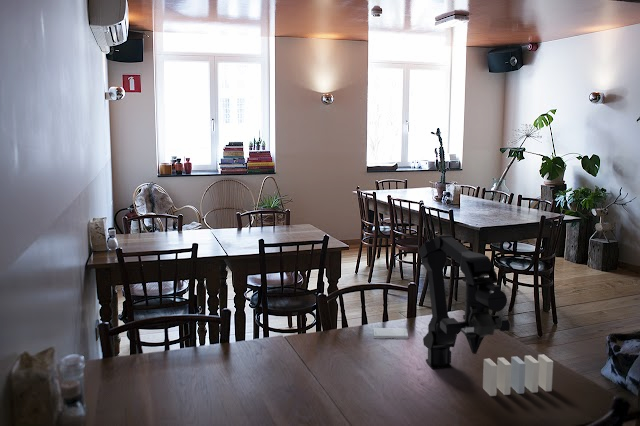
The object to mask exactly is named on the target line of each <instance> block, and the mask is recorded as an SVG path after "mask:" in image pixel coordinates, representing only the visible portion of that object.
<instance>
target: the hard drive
mask: <svg viewBox="0 0 640 426" xmlns="http://www.w3.org/2000/svg"><path fill="white" fill-rule="evenodd" d="M372 331H373V332H372V334H373V333H374V334H373V338H374V337H376V338H375V339H385V338H391V340H393V339H392V338H394V340H396V339H397V340H398V339H399V340H401V339H402V340H408V339H409V334H408V333H409V332H408V329H407V328H403V327H402V328H396V327H393V328H392V327H391V328H390V327H388V328H387V327H373V328H372Z"/></svg>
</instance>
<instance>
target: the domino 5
mask: <svg viewBox="0 0 640 426" xmlns="http://www.w3.org/2000/svg"><path fill="white" fill-rule="evenodd" d="M537 361H538V362H539V380H538V387H540V388H541V389H543V390H544V391H545V392H552V391H553V390H552V389H553V371H554V361H553V360H552V359H551V358H549V357H548V356H547V355H546V354H537Z"/></svg>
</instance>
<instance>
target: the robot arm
mask: <svg viewBox="0 0 640 426" xmlns="http://www.w3.org/2000/svg"><path fill="white" fill-rule="evenodd" d="M418 253H419V258H420V262H421V265H423V267H424V269H425V270H426V272H427V279H428V288H429V297H430V308H431V315H432V317H431V319H430V321H429V323H428V325H427V326H428V328H427V330H428V332H427V333H426V335H425V336H424V337H423V338H422V341H423V346H424V347H426V348H427V358H426V359H425V363H427V364H428V366H429V367H430V368H431V369H432V370H436V369H437V370H438V369H449V368H450V369H451V368H452V365H451V364H452V351H451V348H454V347H455V345H456V341H457V337H458V335H459V334H460V333H463V334H464V335H465V338H466V340H467V342H468V346H469V347H470V350H471V353H472V354H473V355H477V353H478V351H479V349H480V346H481V344H482V342H483V340H484V339H485V337H486V336H488V335H490V336H493V335H495V331H496V330H499V331H500V332H507V331H508V332H509V331H511V329H512V327H511V326H512V323H511V321H510V320H509V319H507V318H506V317H505V316H504V315H502V314H496V315H495V314H494V315H493V314H491V315H490V311H491V312H494V313H495V312H501V311H502V310H503V309H505V307H506V305H507V303H508V298H507V294H506V293H505V292H504V291H502V289H501V288H502V287H501V285H499V284H498V283H499V279H498V274H497V272H496V270H495V268H494V265H493V263H492V260H491V259H490V257H489V256H488V255H485V254H482V253H480V252H474V251H471V250H470V249H469V248H467V247H466V246H464V245H463V244H462V243H461V242H459V241H458V240H457V239H455V238H454V236H453V235H452V234H441V235H440V234H439V235H437V236H435V237H434V238H433V239H430V240H428V241H426V242H424V243H422V245H421V246H420V247H419V249H418ZM448 256H449V257H450V258H452V260H453V261H455V262H456V263H458V265H459V271H461V272H462V273H463V276H464V277H462V279H461V280H462V281H463V282H464V283H465V298H464V299H465V300H463V301H462V302H463V306H464V314H463V315H462V320H463V321H458V320H457V319H456V318H454V317H449V314H448V313H449V311H448V303H447V294H446V285H445V276H444V269H445V266H446V264H447V262H448ZM489 310H490V311H489Z"/></svg>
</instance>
